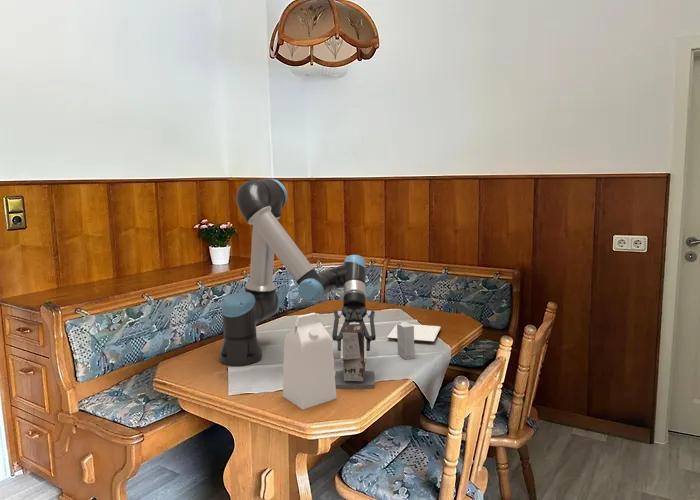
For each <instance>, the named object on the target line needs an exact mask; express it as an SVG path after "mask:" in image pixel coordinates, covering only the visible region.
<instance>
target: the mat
mask: <svg viewBox="0 0 700 500" xmlns="http://www.w3.org/2000/svg"><path fill="white" fill-rule="evenodd" d="M375 374H376V373H375V371H374V370H365V374H364V378H363V381H344V370H336V371H335V385H336V389H376V388H375V383H376V381H375Z"/></svg>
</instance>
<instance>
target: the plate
mask: <svg viewBox="0 0 700 500" xmlns="http://www.w3.org/2000/svg"><path fill="white" fill-rule="evenodd" d="M410 324H411V325H413V326H414V343H415V342H417V343H418V342H419V343H426V344H427V343H434V342H435V341H436V338H437V335H438V333H439V331H440V330H441V326H438V325H425V324H413V323H410ZM386 338H387V339H390V340H395V341H398V339H397V323H396V324H395V325H394V327H393V328H392V329H391V331H390V332H389V334H388V335H387V336H386Z"/></svg>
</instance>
